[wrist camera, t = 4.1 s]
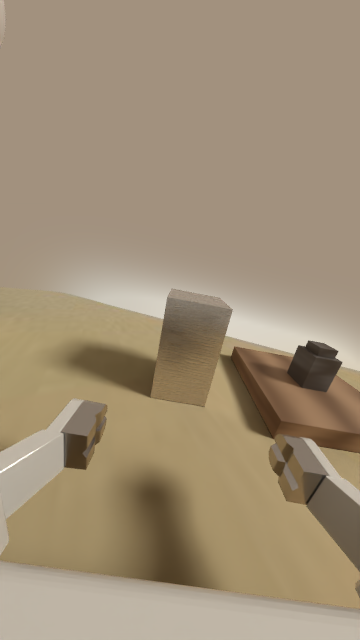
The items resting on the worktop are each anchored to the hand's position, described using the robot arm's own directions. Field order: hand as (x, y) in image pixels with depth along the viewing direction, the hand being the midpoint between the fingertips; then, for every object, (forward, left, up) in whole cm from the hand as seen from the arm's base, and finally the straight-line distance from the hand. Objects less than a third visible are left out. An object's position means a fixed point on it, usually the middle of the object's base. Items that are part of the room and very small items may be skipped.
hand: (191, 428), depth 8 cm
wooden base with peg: (+7, +19, -5) cm, 21 cm away
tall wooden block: (-5, +9, -5) cm, 12 cm away
